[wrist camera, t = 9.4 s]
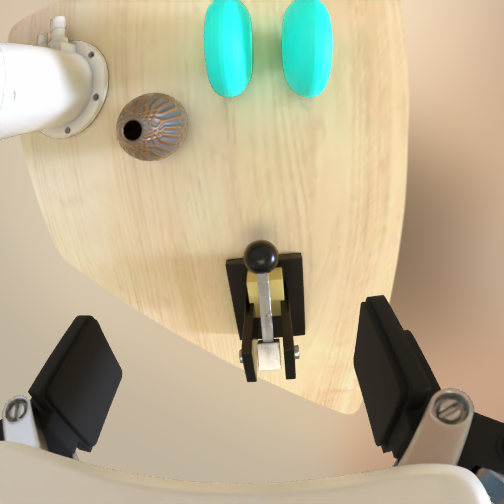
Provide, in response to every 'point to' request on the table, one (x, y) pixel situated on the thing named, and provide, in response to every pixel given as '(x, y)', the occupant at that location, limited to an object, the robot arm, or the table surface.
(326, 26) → the turquoise capsule pair
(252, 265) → the ball knob lever
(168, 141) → the vase
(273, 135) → the table surface
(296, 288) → the black lever base
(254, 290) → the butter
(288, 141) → the table surface
